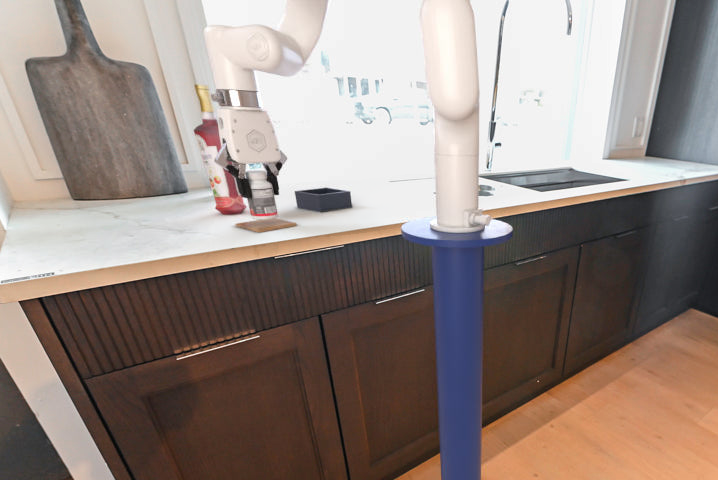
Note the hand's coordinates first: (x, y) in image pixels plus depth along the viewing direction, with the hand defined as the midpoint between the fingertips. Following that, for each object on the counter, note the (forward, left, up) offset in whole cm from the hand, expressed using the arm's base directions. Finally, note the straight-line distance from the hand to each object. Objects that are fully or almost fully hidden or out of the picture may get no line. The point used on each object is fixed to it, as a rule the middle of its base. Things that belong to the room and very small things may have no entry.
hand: (260, 195), depth 93 cm
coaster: (0, 0, -7) cm, 7 cm away
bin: (+10, -23, -7) cm, 26 cm away
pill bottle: (0, 0, -5) cm, 5 cm away
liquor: (+20, -3, -7) cm, 21 cm away
